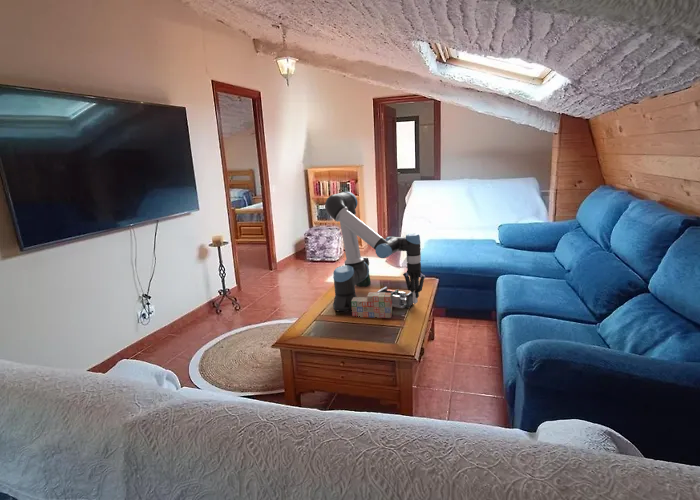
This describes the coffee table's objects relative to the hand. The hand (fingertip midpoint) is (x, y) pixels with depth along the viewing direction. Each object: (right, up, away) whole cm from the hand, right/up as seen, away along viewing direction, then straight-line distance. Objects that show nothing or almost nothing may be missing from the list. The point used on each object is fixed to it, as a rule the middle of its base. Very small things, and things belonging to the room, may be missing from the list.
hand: (415, 302), depth 227 cm
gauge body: (-10, -1, +9) cm, 13 cm away
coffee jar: (-27, +6, +44) cm, 52 cm away
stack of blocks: (-24, -6, -5) cm, 26 cm away
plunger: (-8, -1, +7) cm, 10 cm away
